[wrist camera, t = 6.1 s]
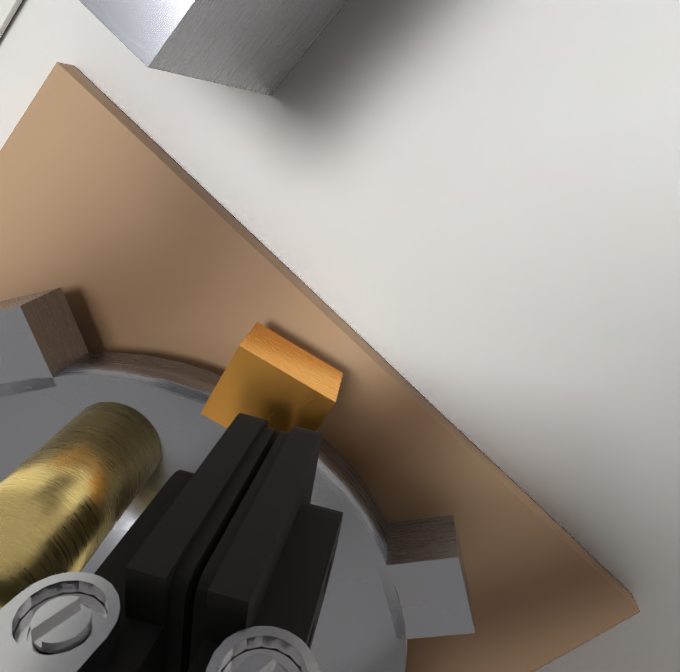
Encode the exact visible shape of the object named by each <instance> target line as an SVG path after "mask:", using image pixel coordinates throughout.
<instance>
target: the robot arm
mask: <svg viewBox="0 0 680 672" xmlns="http://www.w3.org/2000/svg"><path fill="white" fill-rule="evenodd" d="M268 426H269V424H268V420H267V419H263V418H259V417H255V416H251V415H247V414H243V413H239V414H238V415H237V416H236V417H235V419H234V420H233V421H232V423H231V424H230V426H229V427H228V428H227V430H226V431H225V432H224V434H223V435H222V436H221V438H220V439H219V441H218V442H217V443H216V445H215V446H214V447H213V449H212V450H211V451H210V453H209V454H208V456H207V457H206V458H205V460H204V461H203V462H202V464H201V465H200V466H199V468H198V469H197V471H196V472H195V473H191V472H188V471H184V470H178V471H176V472H175V473H174V474H173V475H172V476H171V477H170V478H169V479H168V481H167V482H166V483H165V485H164V486H163V487H162V488H161V490H160V491H159V492H158V493H157V495H156V496H155V497H154V498H153V500H152V501H151V502H150V503H149V505H148V506H147V507H146V509H145V510H144V511H143V512H142V514H141V515H140V516H139V517H138V519H137V520H136V521H135V522H134V524H133V525H132V526H131V527H130V529H129V530H128V531H127V533H126V534H125V535H124V536H123V538H122V539H121V540H120V541H119V543H118V544H117V545H116V546H115V548H114V549H113V550H112V551H111V553H110V554H109V555H108V557H107V558H106V559H105V560H104V562H103V563H102V564H101V565H100V567H99V568H98V569H97V570H96V572H95V573H94V574H91V573H88V572H66V573H61V574H56V575H52V576H49V577H47V578H45V579H42V580H40V581H38V582H35V583H33V584H32V585H30V586H29V587H28V588H26V589H25V590H23V591H22V592H20V593H19V594H18V595H17V596H15V597H14V598H13V599H12V600H11V601H10V602H8V603H7V604H6V605H5V606H4V607H3V608H2V609H0V672H319V667H318V664H317V662H316V660H315V657H314V655H313V652H312V651H311V650H310V649H311V645H312V641H313V638H314V634H315V630H316V626H317V623H318V619H319V615H320V612H321V608H322V604H323V601H324V597H325V593H326V589H327V585H328V582H329V578H330V573H331V569H332V565H333V561H334V557H335V552H336V548H337V543H338V538H339V533H340V528H341V523H342V518H343V512H340V511H337V510H333V509H329V508H325V507H321V506H317V505H314V504H310V503H311V497H312V491H313V486H314V480H315V474H316V468H317V463H318V457H319V451H320V446H321V439H322V433H320V432H316V431H312V430H308V429H304V428H300V427H296V426H294V427H293V428H292V429H291V431H290V433H288V432H284V431H281V432H280V433H279V435H278V437H277V431H276V429H272V428H268ZM276 437H277V438H276Z"/></svg>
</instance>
